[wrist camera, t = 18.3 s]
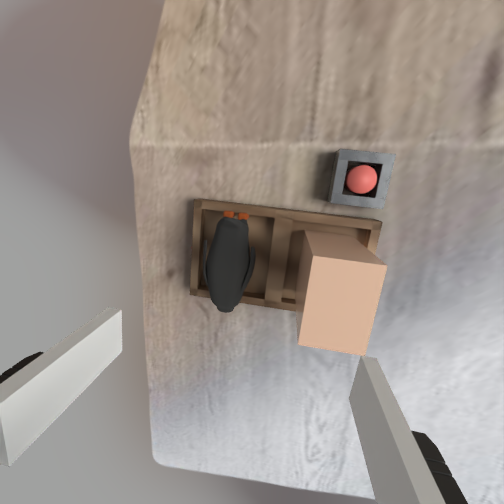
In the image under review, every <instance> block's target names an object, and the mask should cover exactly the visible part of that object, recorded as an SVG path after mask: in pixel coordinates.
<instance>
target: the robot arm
mask: <svg viewBox="0 0 504 504" xmlns="http://www.w3.org/2000/svg"><path fill="white" fill-rule="evenodd" d="M121 352H122V310H121V309H116V308H111V307H108V308H107V309H105V310H104V311H103V312H101V313H100V314H98V315H97V316H96V317H94V318H93V319H91V320H90V321H89V322H87V323H86V324H84V325H83V326H81V327H80V328H79V329H77V330H76V331H74V332H73V333H72V334H70V335H69V336H67V337H66V338H65V339H63V340H62V341H60V342H59V343H58V344H56V345H55V346H53V347H52V348H50V349H49V350H48V351H46V352H45V353H43V352H38V353H36V354H33V355H31V356H29V357H26V358H24V359H23V360H21V361H20V362H19V363H17V364H16V365H14V366H13V367H12V368H10V369H8V370H7V371H5V372H4V373H2V375H0V465H4V466H8V467H10V466H11V465H12V464H13V463H14V462H15V461H16V459H17V458H18V457H19V456H20V455H21V454H22V453H23V452H24V451H25V450H26V449H27V448H28V447H29V446H30V445H31V444H32V443H33V442H34V441H35V440H36V439H37V438H38V437H39V436H40V435H41V434H42V433H43V432H44V431H45V430H46V429H47V428H48V427H49V426H50V424H52V422H54V421H55V420H56V419H57V417H58V416H59V415H60V414H61V413H62V412H63V411H64V410H65V409H66V408H67V407H68V406H69V405H70V404H71V403H72V402H73V401H74V400H75V399H76V398H77V397H78V396H79V395H80V394H81V393H82V392H83V391H84V390H85V389H86V388H87V387H88V386H89V385H90V384H91V382H92V381H93V380H95V378H96V377H97V376H98V375H99V374H100V373H101V372H102V371H103V370H104V369H105V368H106V367H107V366H108V365H109V364H110V363H111V362H112V361H113V360H114V359H115V358H116V357H117V356H118V355H119V354H120V353H121ZM349 401H350V405H351V408H352V412H353V416H354V420H355V423H356V427H357V431H358V435H359V439H360V442H361V446H362V450H363V454H364V457H365V461H366V465H367V469H368V473H369V476H370V480H371V484H372V488H373V491H374V495H375V499H376V503H377V504H468V503H467V501H466V499H465V497H464V496H463V494H462V492H461V490H460V488H459V486H458V485H457V483H456V481H455V479H454V478H453V477H452V474H451V472H450V470H449V468H448V466H447V465H446V464H445V461H444V459H443V457H442V455H441V453H440V452H439V450H438V448H437V447H436V445H435V444H434V443H433V442H432V441H431V440H430V439H429V438H428V437H427V435H426V434H424V433H420V432H415V431H411V430H410V428H409V426H408V424H407V421H406V419H405V417H404V415H403V413H402V411H401V409H400V407H399V405H398V403H397V400H396V398H395V396H394V394H393V392H392V390H391V388H390V386H389V384H388V382H387V380H386V377H385V375H384V373H383V371H382V369H381V367H380V365H379V363H378V361H377V359H376V358H372V357H367V356H362V355H361V357H360V361H359V364H358V368H357V371H356V375H355V378H354V382H353V386H352V389H351V393H350V396H349Z"/></svg>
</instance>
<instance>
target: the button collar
mask: <svg viewBox="0 0 504 504" xmlns="http://www.w3.org/2000/svg"><path fill="white" fill-rule="evenodd" d="M395 156H396V154H388V153H378V152H367V151H357V150H346V149H339V150H338V151H336V155H335V160H334V166H333V172H332V177H331V183H330V189H329V194H328V200H327V202H329V203H335V204H343V205H352V206H361V207H369V208H378V209H383V208H384V204H385V199H386V195H387V191H388V186H389V182H390V178H391V173H392V169H393V165H394V161H395ZM348 163H357V164H367V165H375V172H376V174H377V182H376V184H375V186H374V187H373V189H372V190H370V193H369V197H364V196H355V195H346V194H342V191H343V186H344V181H345V176H346V170H347V165H348Z"/></svg>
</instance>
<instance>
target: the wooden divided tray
mask: <svg viewBox="0 0 504 504" xmlns="http://www.w3.org/2000/svg"><path fill="white" fill-rule="evenodd" d="M224 211H233V212H234V213H235V216H234V217H233V218H235V219H238V214H239V213H240V212H242V213H247V214H248V215H249V218H248V219H247V223H248V227H249V234H248V236H249V249H250V250H251V247H252V246H254V248H255V253H256V259H255V266H254V270H253V273H252V276H251V278H250V281H249V283H248V285H247V287H246V288H245V290H244V292H243V295H242V298H241V301H240V302H239V303H245V304H252V305H258V306H264V307H271V308H277V309H283V310H290V311H296V302H295V287H296V281H297V274H298V268H299V262H300V255H301V249H302V243H303V236H304V230H310V231H318V232H326V233H334V234H342V235H350V236H353V237H354V238H355V239H356V240H358V241H359V242H360V243H361V244H362V245H364V246H365V247H366V248H367V249H368V250H369V251H371V252H372V253H373V254H374V255H375V252H376V248H377V243H378V239H379V235H380V231H381V226H382V222H381V221H379V220H375V219H367V218H359V217H350V216H342V215H333V214H325V213H317V212H308V211H300V210H291V209H283V208H274V207H266V206H258V205H249V204H241V203H232V202H224V201H216V200H207V199H195V200H194V216H193V237H192V258H191V280H190V295H194V296H201V297H207V298H211V297H210V293H209V289H208V286H207V284H206V282H205V279H204V275H203V249H204V240H207V253H206V261H207V256H208V253H209V249H210V246H211V243H212V240H213V237H214V234H215V230H216V225H217V223H218V222H219V221H220V219H221V218H223V213H224Z"/></svg>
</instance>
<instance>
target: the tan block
mask: <svg viewBox="0 0 504 504" xmlns="http://www.w3.org/2000/svg"><path fill="white" fill-rule="evenodd" d="M386 270H387V265H386V264H385V263H384V262H383V261H381V260H380V259H379V258H378V257H377V256H375V255H374V254H373V253H372V252H371V251H369V250H368V249H367V248H366V247H365V246H364V245H362V244H361V243H360V242H359V241H358V240H356V239H355V238H354V237H353V236H350V235H342V234H334V233H326V232H318V231H310V230H304V236H303V243H302V249H301V255H300V262H299V268H298V274H297V281H296V287H295V302H296V320H297V338H298V345H303V346H309V347H315V348H320V349H326V350H332V351H338V352H344V353H350V354H356V355H362V356H365V354H366V350H367V346H368V342H369V338H370V334H371V330H372V326H373V322H374V318H375V314H376V310H377V306H378V302H379V298H380V294H381V290H382V286H383V282H384V278H385V274H386Z"/></svg>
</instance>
